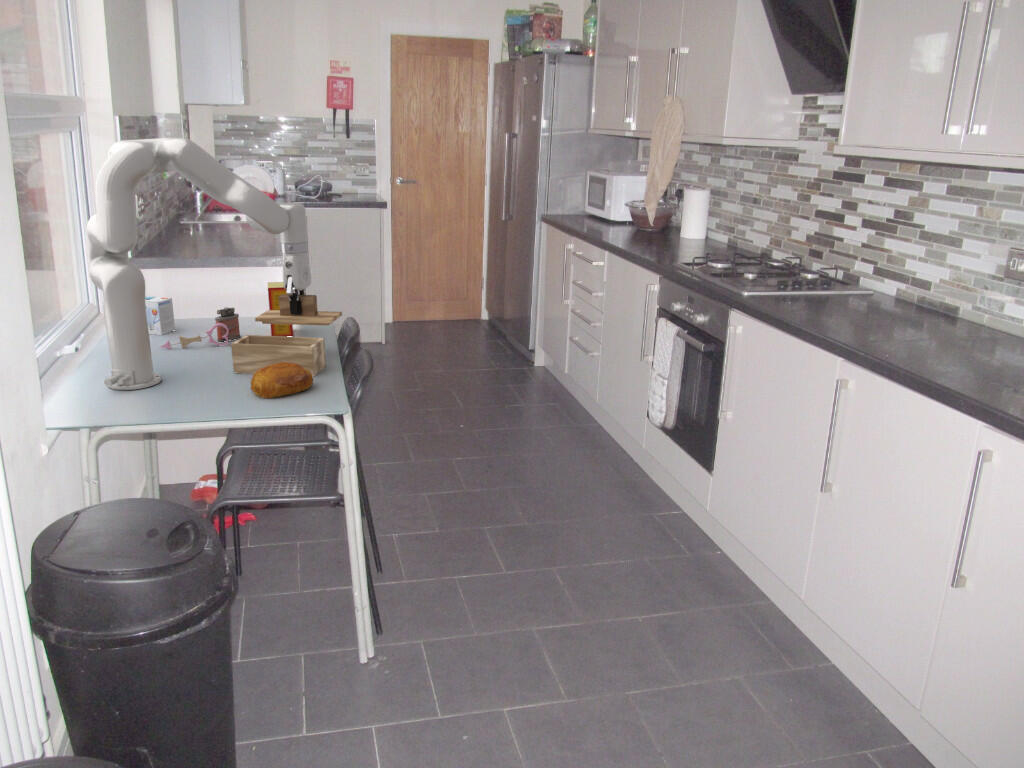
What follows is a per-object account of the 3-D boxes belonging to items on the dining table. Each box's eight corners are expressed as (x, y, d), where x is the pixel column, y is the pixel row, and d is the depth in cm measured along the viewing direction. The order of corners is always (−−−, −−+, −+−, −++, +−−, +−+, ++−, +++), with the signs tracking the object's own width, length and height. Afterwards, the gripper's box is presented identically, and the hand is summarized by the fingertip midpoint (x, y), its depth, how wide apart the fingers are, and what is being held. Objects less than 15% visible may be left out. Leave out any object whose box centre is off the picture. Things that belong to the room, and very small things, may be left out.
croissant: (321, 398, 206) (324, 368, 204) (264, 403, 195) (266, 371, 193) (293, 384, 216) (295, 354, 214) (237, 387, 205) (239, 356, 203)
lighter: (235, 336, 255) (232, 304, 252) (243, 337, 253) (240, 306, 250) (214, 341, 248) (211, 309, 245) (222, 343, 246) (219, 311, 243)
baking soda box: (271, 330, 262) (267, 281, 257) (292, 329, 264) (288, 280, 259) (271, 337, 254) (267, 286, 249) (293, 336, 255) (289, 286, 251)
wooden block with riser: (331, 326, 228) (329, 300, 226) (255, 324, 230) (253, 298, 228) (342, 318, 238) (340, 293, 235) (269, 316, 240) (266, 291, 237)
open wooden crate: (314, 376, 216) (312, 347, 213) (233, 373, 218) (231, 344, 215) (325, 366, 225) (324, 338, 223) (249, 362, 227) (246, 334, 225)
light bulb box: (133, 332, 257) (129, 299, 254) (148, 328, 263) (144, 295, 260) (162, 335, 254) (158, 301, 251) (176, 330, 260) (172, 297, 257)
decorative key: (162, 358, 241) (232, 343, 246) (162, 359, 240) (232, 344, 245) (155, 336, 238) (226, 321, 243) (155, 337, 237) (226, 322, 242)
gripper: (296, 253, 219) (301, 319, 225) (316, 244, 235) (320, 307, 241) (269, 252, 220) (275, 319, 226) (291, 243, 236) (295, 306, 241)
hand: (298, 312), depth 233 cm, fingers closed on wooden block with riser, 3 cm apart
